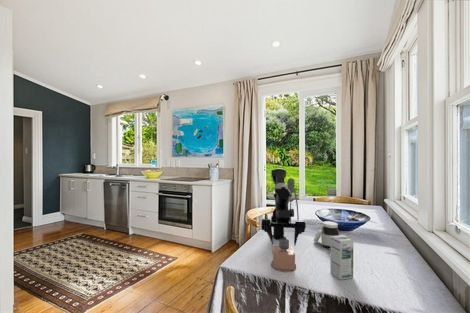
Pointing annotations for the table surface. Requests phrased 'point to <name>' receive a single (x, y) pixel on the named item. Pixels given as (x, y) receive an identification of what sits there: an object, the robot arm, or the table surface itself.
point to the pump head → (283, 244)
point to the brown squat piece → (283, 259)
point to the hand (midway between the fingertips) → (283, 244)
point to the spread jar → (327, 233)
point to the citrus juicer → (291, 188)
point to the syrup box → (341, 257)
